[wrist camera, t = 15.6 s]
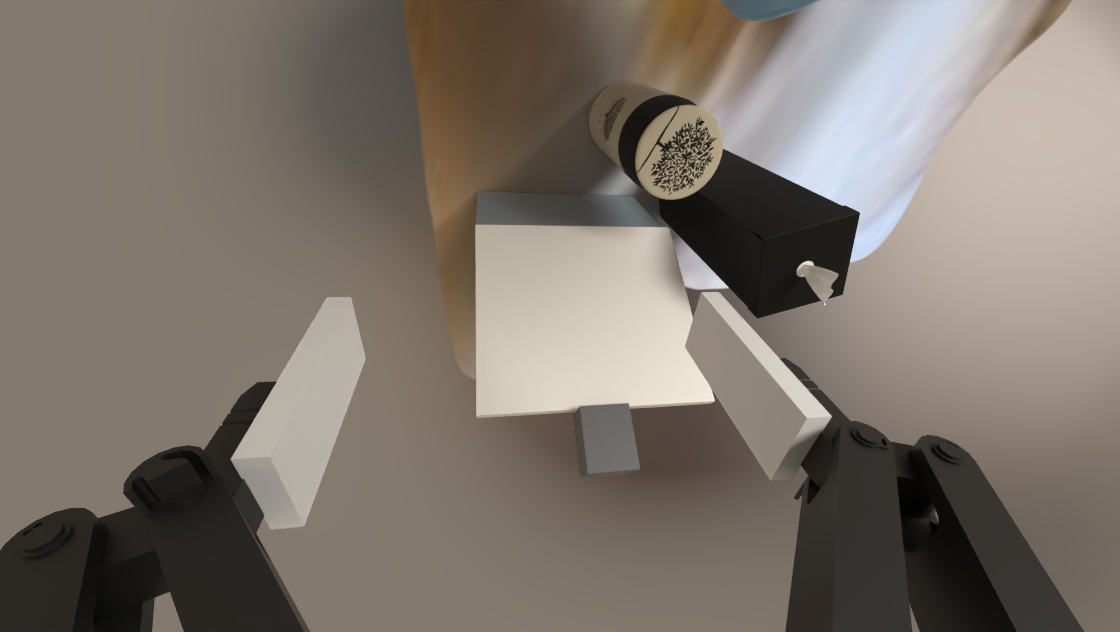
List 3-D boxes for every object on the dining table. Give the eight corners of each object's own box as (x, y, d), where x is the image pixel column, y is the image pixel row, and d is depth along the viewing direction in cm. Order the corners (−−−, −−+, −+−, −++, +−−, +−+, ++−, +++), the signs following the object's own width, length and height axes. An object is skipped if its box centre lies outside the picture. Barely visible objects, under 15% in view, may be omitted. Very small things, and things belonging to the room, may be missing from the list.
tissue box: (659, 217, 57) (778, 341, 34) (654, 159, 52) (787, 258, 29) (715, 201, 57) (871, 315, 34) (714, 143, 52) (895, 228, 29)
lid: (476, 236, 42) (474, 217, 39) (662, 238, 45) (673, 220, 42) (477, 487, 31) (476, 483, 29) (719, 465, 35) (737, 460, 32)
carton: (477, 191, 51) (475, 228, 41) (632, 195, 54) (665, 231, 44) (481, 312, 61) (481, 366, 51) (612, 310, 64) (635, 359, 54)
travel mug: (667, 111, 49) (745, 144, 34) (622, 167, 52) (677, 220, 37) (619, 64, 46) (684, 78, 31) (574, 126, 48) (613, 167, 34)
